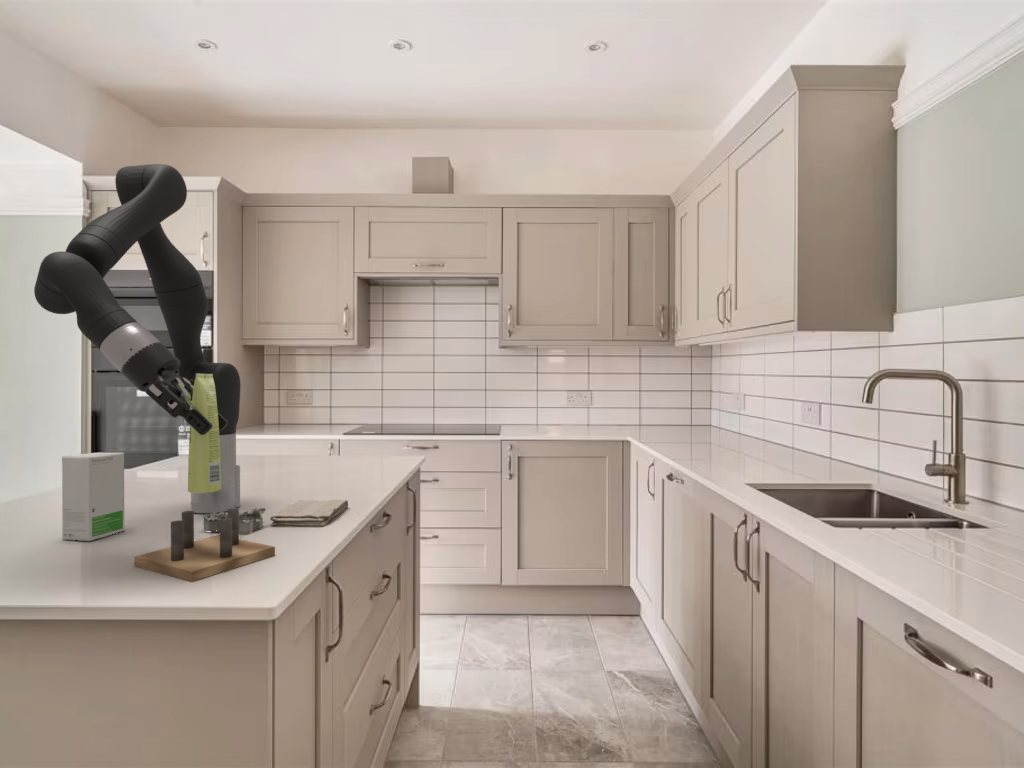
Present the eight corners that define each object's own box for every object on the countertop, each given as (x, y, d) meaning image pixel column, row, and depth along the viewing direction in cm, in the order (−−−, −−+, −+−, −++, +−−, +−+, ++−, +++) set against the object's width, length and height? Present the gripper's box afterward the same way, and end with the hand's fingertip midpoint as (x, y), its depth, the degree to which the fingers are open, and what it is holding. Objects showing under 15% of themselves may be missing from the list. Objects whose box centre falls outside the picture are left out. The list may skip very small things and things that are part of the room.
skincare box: (89, 542, 110) (88, 457, 110) (59, 540, 112) (58, 456, 111) (126, 530, 119) (126, 451, 118) (98, 528, 120) (98, 450, 120)
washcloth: (267, 529, 122) (267, 514, 122) (297, 509, 140) (297, 496, 140) (326, 530, 122) (326, 514, 122) (349, 509, 140) (349, 496, 140)
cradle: (218, 542, 111) (218, 502, 110) (274, 555, 103) (274, 511, 103) (134, 565, 97) (133, 519, 97) (191, 581, 90) (191, 531, 90)
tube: (180, 491, 100) (181, 373, 100) (212, 487, 104) (212, 373, 104) (195, 495, 96) (195, 373, 96) (227, 491, 100) (227, 373, 100)
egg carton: (268, 527, 123) (268, 507, 123) (243, 537, 116) (243, 516, 115) (223, 524, 125) (223, 504, 125) (196, 533, 118) (196, 512, 118)
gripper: (135, 338, 92) (216, 416, 93) (177, 343, 106) (247, 410, 108) (98, 372, 91) (180, 450, 93) (145, 372, 106) (215, 440, 107)
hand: (216, 428), depth 100 cm, fingers closed on tube, 6 cm apart
